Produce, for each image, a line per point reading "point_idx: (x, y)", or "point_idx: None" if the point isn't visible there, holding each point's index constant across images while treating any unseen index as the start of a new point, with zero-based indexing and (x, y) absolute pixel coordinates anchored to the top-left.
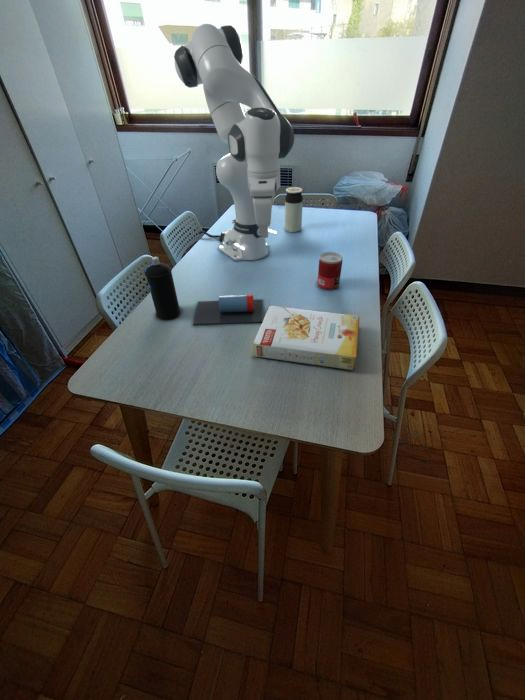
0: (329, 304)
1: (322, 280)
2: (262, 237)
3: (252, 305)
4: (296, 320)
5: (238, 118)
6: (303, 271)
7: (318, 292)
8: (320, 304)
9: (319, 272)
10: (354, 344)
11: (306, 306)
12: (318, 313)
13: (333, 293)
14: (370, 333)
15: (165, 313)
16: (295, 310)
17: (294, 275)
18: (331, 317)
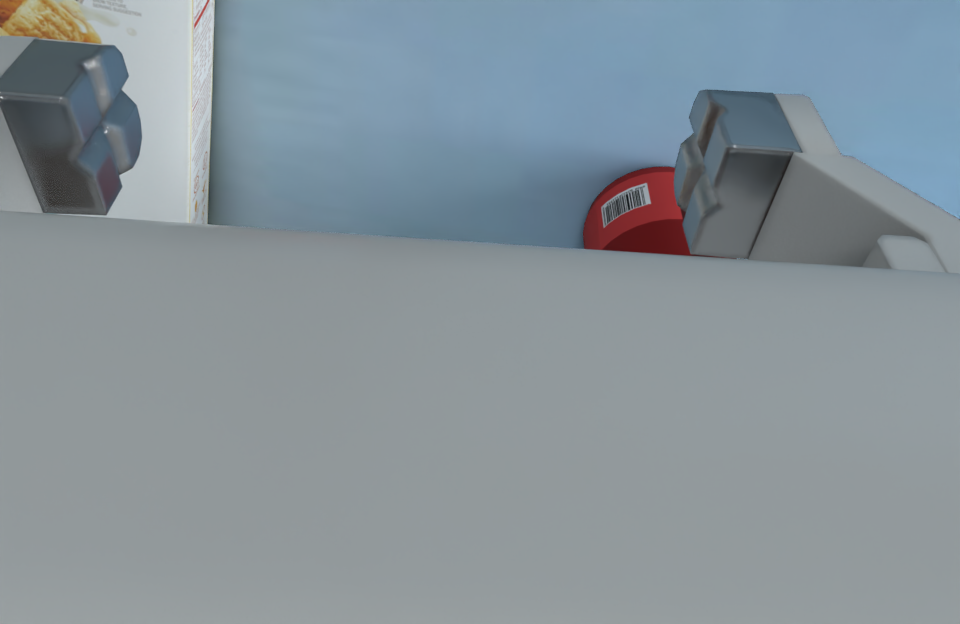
0: (426, 192)
1: (613, 219)
2: (11, 37)
3: None
4: (2, 11)
5: None
6: (889, 99)
7: (569, 155)
8: (426, 146)
9: (653, 233)
10: None
11: (403, 62)
12: (153, 154)
13: (544, 229)
14: None
15: None
16: (152, 13)
17: (857, 26)
18: (122, 214)
